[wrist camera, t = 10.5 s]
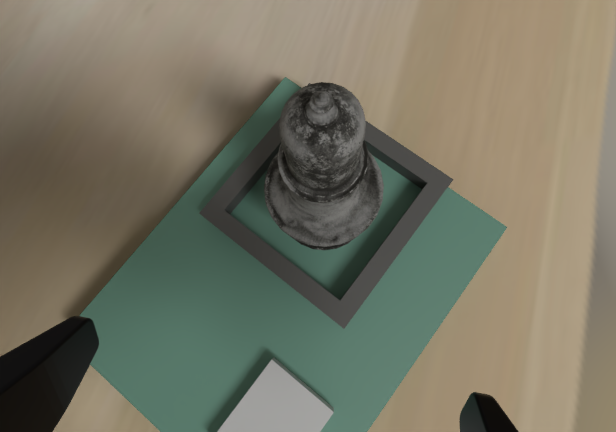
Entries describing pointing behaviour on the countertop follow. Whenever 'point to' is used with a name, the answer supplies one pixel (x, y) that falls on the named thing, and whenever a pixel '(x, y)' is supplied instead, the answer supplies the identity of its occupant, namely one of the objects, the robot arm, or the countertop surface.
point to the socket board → (284, 296)
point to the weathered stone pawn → (323, 169)
